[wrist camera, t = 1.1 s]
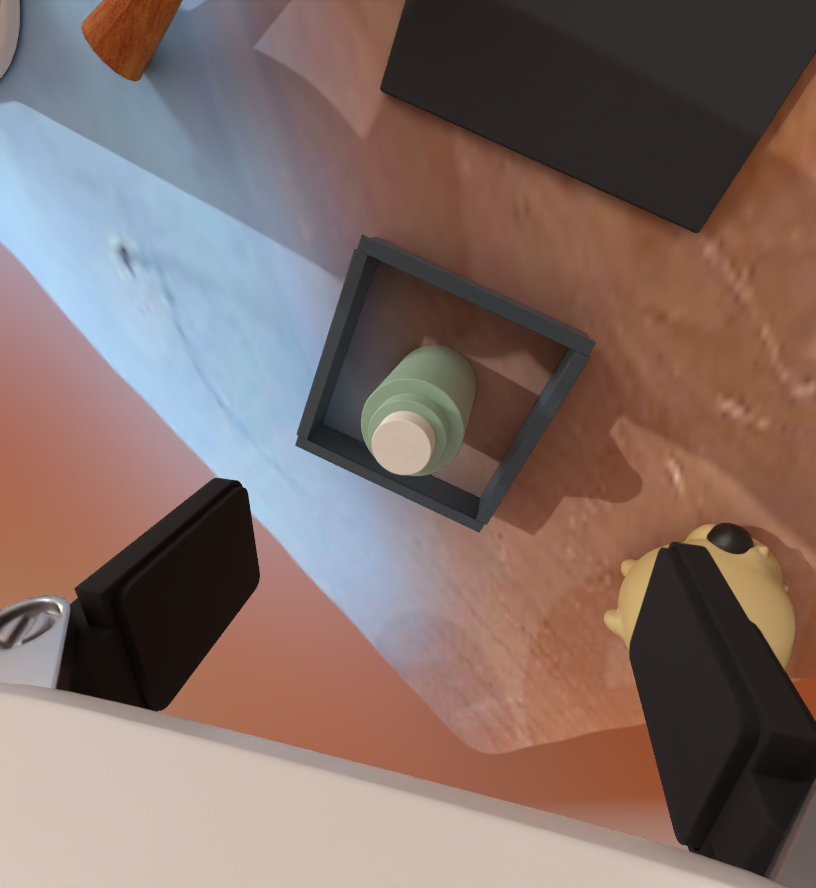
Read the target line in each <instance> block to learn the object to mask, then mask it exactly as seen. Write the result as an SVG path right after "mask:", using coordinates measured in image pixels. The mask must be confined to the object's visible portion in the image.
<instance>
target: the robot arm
mask: <svg viewBox="0 0 816 888" xmlns="http://www.w3.org/2000/svg"><path fill="white" fill-rule="evenodd" d="M19 29H20V0H0V79H1V78H2V76H3V75H4V73H5V72H6V70H7V69H8V67H9V66H10V63H11V61H12V58H13V55H14V53H15V50H16V47H17V41H18V35H19ZM259 578H260V572H259V565H258V558H257V551H256V545H255V538H254V531H253V524H252V518H251V510H250V504H249V497H248V492H247V490H246V488H244V487H242V484H241V483H240V482H239V481H236V480H229V479H222V478H214V479H212V480H211V481H209V482H208V483H207V484H206V485H204V486H203V487H202V488H201V489H199V490H198V491H197V492H196V493H194V494H193V495H192V496H191V497H189V498H188V499H187V500H185V501H184V502H183V503H182V504H180V505H179V506H178V507H177V508H175V509H174V510H173V511H172V512H170V513H169V514H168V515H166V516H165V517H164V518H163V519H161V520H160V521H159V522H158V523H156V524H155V525H154V526H153V527H151V528H150V529H149V530H148V531H146V532H145V533H144V534H142V535H141V536H140V537H139V538H138V539H136V540H135V541H134V542H132V543H131V544H130V545H129V546H127V547H126V548H125V549H124V550H122V551H121V552H120V553H118V554H117V555H116V556H115V557H113V558H112V559H111V560H110V561H109V562H107V563H106V564H105V565H103V566H102V567H101V568H99V569H98V570H97V571H96V572H95V573H93V574H92V575H91V576H89V577H88V578H87V579H86V580H84V581H83V582H82V583H81V584H79V585H78V586H77V587H75V591H76V594H77V596H78V598H77V599H76V600H75V601H73V602H72V603H71V604H69V602H68V601H67V600H66V599H65V598H62V597H59V596H47V595H46V596H45V595H44V596H38V597H33V598H29V599H26V600H23V601H20V602H17V603H14V604H12V605H10V606H8V607H6V608H4V609H2V610H0V888H816V721H815V720H814V718H813V716H812V715H811V713H810V711H809V710H808V708H807V706H806V705H805V703H804V702H803V700H802V698H801V697H800V695H799V693H798V691H797V690H796V688H795V686H794V685H793V683H792V682H791V680H790V678H789V677H788V675H787V673H786V672H785V670H784V668H783V667H782V665H781V663H780V662H779V660H778V658H777V657H776V655H775V653H774V652H773V650H772V648H771V647H770V645H769V644H768V642H767V640H766V639H765V637H764V635H763V634H762V632H761V630H760V629H759V628H758V627H757V625H756V624H755V623H753V622H751V621H750V620H749V618H748V617H747V615H746V613H745V612H744V610H743V608H742V607H741V605H740V603H739V601H738V600H737V598H736V596H735V595H734V593H733V591H732V590H731V588H730V586H729V585H728V583H727V581H726V580H725V578H724V576H723V574H722V573H721V571H720V569H719V568H718V566H717V564H716V563H715V561H714V559H713V558H712V556H711V554H710V553H709V551H708V549H707V548H706V547H704V546H700V545H692V544H685V543H678V542H672V543H671V544H670V545H669V547H668V548H663V547H662V548H660V550H659V551H658V554H657V557H656V560H655V563H654V567H653V570H652V573H651V576H650V579H649V583H648V586H647V589H646V592H645V595H644V599H643V602H642V605H641V608H640V612H639V615H638V618H637V621H636V624H635V628H634V631H633V634H632V637H631V640H630V646H629V655H630V662H631V665H632V669H633V673H634V677H635V681H636V685H637V689H638V693H639V697H640V701H641V704H642V708H643V712H644V716H645V720H646V724H647V727H648V732H649V736H650V740H651V743H652V747H653V751H654V755H655V759H656V763H657V767H658V771H659V775H660V778H661V782H662V786H663V790H664V794H665V798H666V801H667V806H668V810H669V814H670V818H671V822H672V825H673V829H674V833H675V836H676V838H677V840H678V842H679V843H680V844H682V845H687V846H688V848H689V851H687V850H683V849H680V848H676V847H672V846H669V845H665V844H661V843H658V842H654V841H651V840H647V839H644V838H640V837H637V836H633V835H630V834H626V833H622V832H619V831H615V830H612V829H608V828H604V827H601V826H598V825H594V824H590V823H587V822H583V821H580V820H576V819H572V818H569V817H564V816H561V815H557V814H553V813H550V812H545V811H542V810H538V809H534V808H531V807H527V806H523V805H519V804H515V803H511V802H508V801H504V800H500V799H496V798H492V797H488V796H485V795H481V794H477V793H473V792H470V791H466V790H462V789H458V788H454V787H450V786H446V785H443V784H439V783H435V782H431V781H428V780H424V779H420V778H416V777H412V776H408V775H404V774H400V773H396V772H393V771H389V770H385V769H381V768H377V767H373V766H369V765H365V764H362V763H357V762H354V761H350V760H346V759H342V758H338V757H334V756H330V755H326V754H322V753H319V752H315V751H311V750H306V749H303V748H299V747H295V746H291V745H287V744H283V743H280V742H276V741H272V740H268V739H264V738H260V737H256V736H252V735H248V734H244V733H240V732H236V731H232V730H228V729H224V728H220V727H216V726H212V725H208V724H204V723H200V722H196V721H192V720H188V719H184V718H180V717H176V716H172V715H168V714H164V713H160V712H158V710H159V711H161V710H163V709H165V708H166V707H167V706H168V705H169V704H170V703H171V701H172V700H173V699H174V697H175V696H176V695H177V693H178V692H179V691H180V689H181V688H182V687H183V685H184V684H185V683H186V681H187V680H188V679H189V677H190V676H191V675H192V673H193V672H194V671H195V669H196V668H197V667H198V665H199V664H200V663H201V661H202V660H203V658H204V657H205V656H206V655H207V653H208V652H209V651H210V649H211V648H212V647H213V645H214V644H215V643H216V641H217V640H218V639H219V637H220V636H221V635H222V633H223V632H224V631H225V629H226V628H227V627H228V625H229V624H230V623H231V621H232V620H233V619H234V617H235V616H236V615H237V613H238V612H239V611H240V609H241V608H242V607H243V605H244V604H245V603H246V601H247V600H248V599H249V597H250V596H251V595H252V593H253V592H254V591H255V589H256V588H257V585H258V583H259Z"/></svg>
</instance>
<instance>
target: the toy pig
mask: <svg viewBox="0 0 816 888" xmlns="http://www.w3.org/2000/svg"><path fill="white" fill-rule="evenodd" d="M678 543H685V544H692V545H700V546H704V547H706V548H707V549H708V551H709V553H710V554H711V556H712V558H713V559H714V561H715V563H716V564H717V566H718V568H719V569H720V571H721V573H722V574H723V576H724V578H725V580H726V581H727V583H728V585H729V586H730V588H731V590H732V591H733V593H734V595H735V596H736V598H737V600H738V601H739V603H740V605H741V607H742V608H743V610H744V612H745V613H746V615H747V617H748V618H749V620H750V621H751V622H753V623H755V624H756V625H757V627H758V628H759V629H760V630H761V632H762V634H763V635H764V637H765V639H766V640H767V642H768V644H769V645H770V647H771V648H772V650H773V652H774V653H775V655H776V657H777V658H778V660H779V662H780V663H781V665H782V667H783V668H784V670H785V669H786V667H787V665H788V663H789V660H790V657H791V654H792V650H793V646H794V641H795V633H796V619H795V612H794V609H793V606H792V603H791V601H790V599H789V597H788V595H787V594H786V593H787V592H789V586H788V585H786V584H785V583H784V581H783V574H782V570H781V567H780V564H779V562H778V560H777V559H776V557H775V556H774V555H773V553H772V552H771V551H770V550H769V548H768V547H766V546H765V545H763V544H762V543H761V542H759V541H758V540H756V539H754V538H752V537H751V536H750V534H749V533H748V532H747V531H746V530H745V529H743V528H742V527H740V526H738V525H735V524H731V523H721V524H705V525H702V526H700V527H698V528H696V529H695V530H694V531H692V532H691V533H690V535H689V536H688V537H687V538H686V540H685V541H683V542H678ZM669 545H670V544H668V545H664V546H661V547H658V548H656V549H654V550H652V551H650V552H648V553H647V554H645V555H644V556H642V557H641V558H640V559H639V560H635V559H627V560H625V561H623V562H622V564H621V572H622V574H623V575H624V577H625V579H624V581H623V583H622V585H621V588H620V592H619V597H618V608H617V609H611V610H608V611H607V612H606V613H605V615H604V622H605V624H606V626H607V627H608V628H609V629H610V630H611V631H612V632H614V633H615V634H617V635H618V636H620V637H621V638H622V639H623V640H624V642H625V645H626V647H627V649H628V651H629V646H630V640H631V637H632V634H633V631H634V628H635V624H636V621H637V618H638V615H639V612H640V608H641V605H642V602H643V599H644V595H645V592H646V589H647V586H648V583H649V579H650V576H651V573H652V570H653V567H654V563H655V560H656V557H657V554H658V551H659V550H660V548H662V547H663V548H668V547H669Z"/></svg>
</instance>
